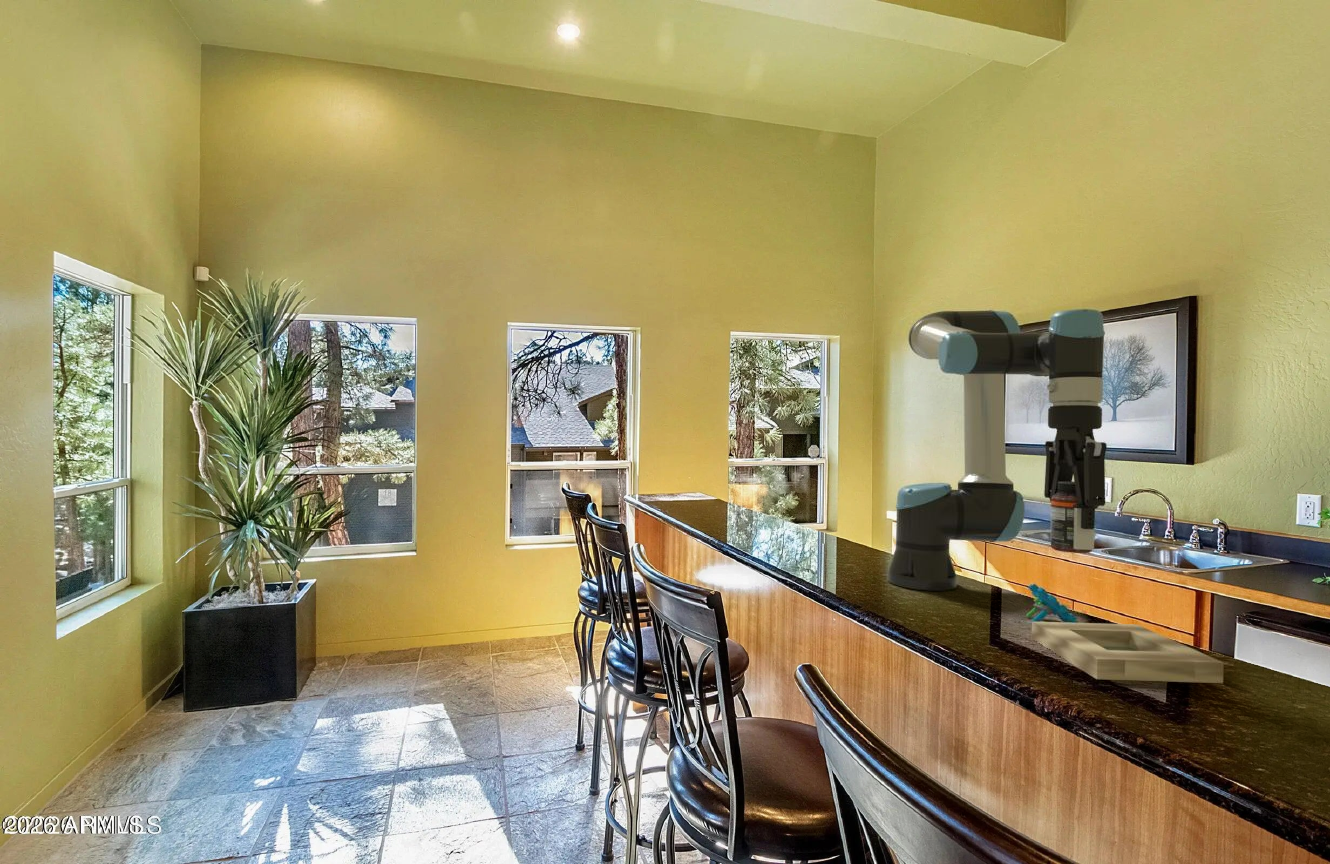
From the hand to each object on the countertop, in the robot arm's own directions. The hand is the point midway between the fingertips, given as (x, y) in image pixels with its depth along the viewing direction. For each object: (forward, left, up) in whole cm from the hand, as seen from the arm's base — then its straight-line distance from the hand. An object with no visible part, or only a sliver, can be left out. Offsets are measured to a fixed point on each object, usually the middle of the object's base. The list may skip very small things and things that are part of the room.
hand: (1071, 545), depth 107 cm
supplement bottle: (0, 0, -1) cm, 1 cm away
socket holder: (+3, +6, -17) cm, 19 cm away
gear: (-15, +5, -18) cm, 24 cm away
